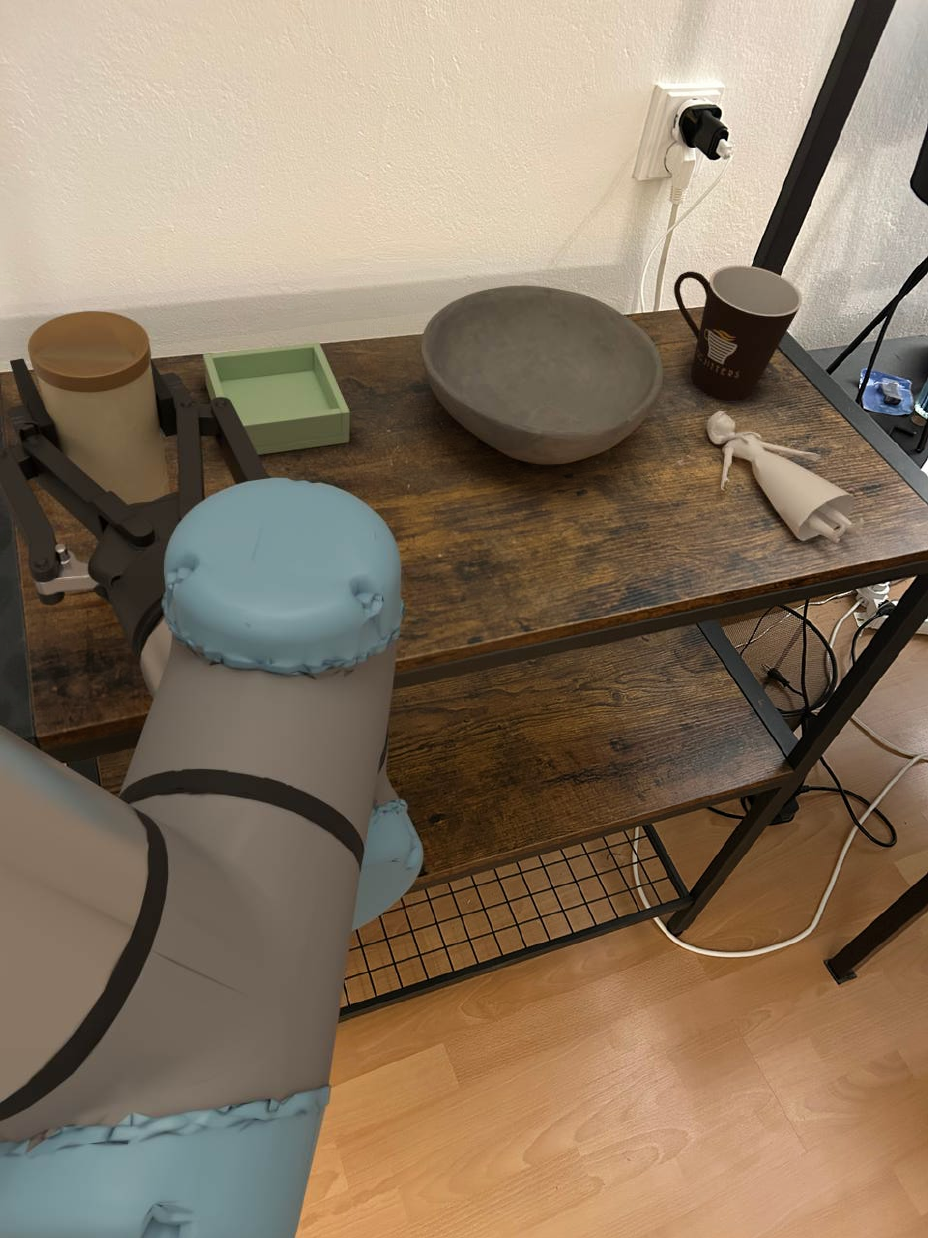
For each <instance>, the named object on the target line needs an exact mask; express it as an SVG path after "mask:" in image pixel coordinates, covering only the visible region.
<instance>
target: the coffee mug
mask: <svg viewBox="0 0 928 1238" xmlns="http://www.w3.org/2000/svg"><path fill="white" fill-rule="evenodd" d="M686 279H694V280H696V281H697V282H699V284H700V285H701V286H702V288H703V289H704V293H705V297H706V298H705V302H704V307H703V312H702V317H701V322H700V326H699V327H698V325H697V323H695V320H693V318H692V316H691V314H690V313H689V311H688V309H687V308H686V306H685V304H684V301H683V298H682V295H681V294H682V293H681V285H682V283H683V281H684V280H686ZM673 285H674V286H673V294H674V298H675V302H676V305H677V307H678V309H679V311H680V314H681V315H682V317H683V319H684V320H685V322H686V323H687V325H688V327H689V328H690V330H691V331H692V333H693V335H694V336H695V337H696V340H697V341H696V345H695V346H696V347H695V351H694V356H693V362H692V366H691V371H690V379H691V382H692V383H693V384H694V385H695V387H697V389H698V390H700V391H701V392H703V393H705V394H706V395H708V396H710V397H714V398H716V399H720V400H725V401H740V400H744V399H746V398H747V397H749V396H751V395H752V394H753V392H754V389H755V388H756V386H757V385H758V383H759V381H760V379H761V378H762V376H763V374H764V372H765V370H766V369H767V367H768V365H769V363H770V361H771V360H772V358H773V356H774V354H775V352H776V351H777V349H778V347H779V346H780V344H781V342H782V340H783V338H784V337H785V335H786V333H787V331H788V330H789V328H790V326H791V324H792V322H793V320H794V319H795V318H796V315H797V313H798V312H799V310H800V308H801V306H802V304H803V297H802V294H801V292H800V291H799V289H798V288H797V287H796V286H795V285H794V284H793V283H792V282H790V281H789V280H788V279H787V278H785V277H783V276H782V275H780V274H777V273H775V272H773V271H770V270H767V269H764V268H761V267H756V266H750V265H740V264H739V265H736V264H735V265H728V266H723V267H720V268H719V269H716V270H715V271H714V272H713V273H712V274H711V276H710V277H709V280H708V279H707V278H706V277H705V276H704V275H703V274H702V273H699V272H696V271H691V270H690V271H686V272H683V273H681V274H680V275H679V276H677V279H676V280H675V282H674V284H673Z"/></svg>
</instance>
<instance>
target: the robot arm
mask: <svg viewBox="0 0 928 1238" xmlns="http://www.w3.org/2000/svg"><path fill="white" fill-rule="evenodd" d="M150 362H151V369H152V375H153V382H154V388H155V395H156V401H157V408H158V414H159V421H160V427H161V432H162V434H164V437H165V438H169V437H173V436H176V443H177V448H176V449H177V491H175V492H172V493H171V492H170V494H167V495H164V496H162V497H160V498H158V499H156V500H154V501H151V502H140V503H133V504H129V505H127V504H126V503H125V502H124V501H123V500H122V499H121V498H119V497H118V496H117V495H116V494H115V493H114V492H112V491H108V492H106V491H105V490H104V489H103V488H102V487H100V486H99V485H98V484H97V483H96V482H95V481H94V480H93V479H91V478H90V477H89V476H88V475H87V474H86V473H85V472H84V471H82V470H81V469H80V468H79V467H78V466H77V465H76V464H74V463H73V462H72V461H71V460H70V459H69V458H68V457H67V456H65V455H64V454H63V453H62V452H61V451H60V450H59V446H58V442H57V438H56V434H55V430H54V427H53V423H52V421H51V419H50V417H49V414H48V413H47V411H46V409H45V405H44V401H43V398H42V396H41V394H40V392H39V390H38V388H37V386H36V383H35V381H34V379H33V376H32V375H31V372H30V370H29V368H28V366H27V363H26V361H25V359H24V357H23V358H18V359H12V360H9V363H10V367H11V370H12V374H13V378H14V382H15V384H16V385H15V386H16V389H17V391H18V396H19V400H20V401H21V404H20V405H15V406H10V407H8V411H7V417H8V420H9V423H10V426H11V429H12V433H13V435H14V438H15V441H16V445H15V446H14V447H12V448H10V449H9V448H8V447H3V446H2V447H1V446H0V496H1V499H2V500H3V502H4V504H5V506H6V508H7V510H8V512H9V514H10V516H11V518H12V520H13V522H14V524H15V526H16V528H17V530H18V532H19V534H20V535H21V538H22V540H23V542H24V544H25V546H26V548H27V550H28V565H27V566H28V569H29V573H30V575H31V578H32V582H33V585H34V587H35V590H36V594H37V597H38V599H39V601H40V603H42V605H46V606H55V605H57V604H59V603H62V601H63V600H64V598H65V596H66V595H65V594H66V592H74V591H75V592H77V591H86V590H93V592H94V593H95V594H96V595H97V596H99V597H100V598H101V599H103V600H105V601H106V602H108V603H109V604H110V605H111V607H112V608H113V612H114V613H115V615H116V618H117V620H118V623H119V624H120V627H121V629H122V632H123V634H124V636H125V639H126V641H127V643H128V646H129V649H130V650H131V653H132V655H133V657H134V660H135V661H136V663H137V664H138V665H139V667H140V671H141V675H142V678H143V680H144V683H145V685H146V687H147V689H148V692H149V694H150V697H151V699H152V703H151V705H150V708H149V711H148V714H147V717H146V719H145V722H144V724H143V727H142V730H141V733H140V735H139V740H138V741H137V745H136V747H135V750H134V753H133V755H132V758H131V761H130V764H129V766H128V769H127V772H126V775H125V778H124V780H123V782H122V786H121V789H120V791H119V794H118V796H116V795H114V794H113V793H111V792H110V791H108V790H106V789H104V788H103V787H101V786H99V785H98V784H97V783H95V782H94V781H92V780H90V779H88V778H87V777H85V776H84V775H82V774H81V773H78V772H77V771H76V770H74V769H72V768H71V767H69V766H67V765H66V764H64V763H62V762H61V761H59V760H58V759H56V758H55V757H54V756H53V757H52V755H50V754H48V753H46V752H44V751H43V750H41V749H40V748H38V747H36V746H35V745H33V744H32V743H30V742H29V741H27V740H25V739H23V738H22V737H20V736H19V735H17V734H16V733H14V732H12V731H10V730H9V729H7V728H6V727H4V726H2V725H1V724H0V1238H296V1235H297V1232H298V1229H299V1225H300V1219H301V1215H302V1210H303V1205H304V1201H305V1197H306V1194H307V1193H306V1192H307V1189H308V1185H309V1179H310V1175H311V1172H312V1167H313V1163H314V1158H315V1155H316V1149H317V1146H318V1141H319V1137H320V1133H321V1129H322V1124H323V1120H324V1115H325V1112H326V1108H327V1107H328V1105H330V1100H331V1090H332V1084H330V1078H331V1071H332V1067H333V1066H332V1064H333V1058H334V1052H335V1051H334V1050H335V1047H336V1046H335V1045H336V1039H337V1032H338V1026H339V1025H338V1024H339V1020H340V1019H339V1018H340V1012H341V1005H342V997H343V991H344V986H345V985H344V984H345V978H346V972H347V971H346V970H347V964H348V959H349V953H350V952H349V951H350V946H351V945H350V944H351V939H352V938H351V937H352V932H354V931H356V930H358V929H360V928H362V927H364V926H366V925H367V924H369V923H371V922H372V921H374V920H375V919H376V918H378V917H379V916H381V915H382V914H383V913H384V912H386V911H387V910H388V909H390V908H391V907H392V906H393V905H395V904H396V903H397V902H398V901H399V900H400V899H401V898H402V897H403V896H404V895H405V894H406V893H407V892H408V891H409V890H410V888H411V887H412V885H413V884H414V883H415V881H416V879H417V877H418V876H419V874H420V872H421V869H422V866H423V863H424V849H423V844H422V842H421V839H420V837H419V835H418V833H417V831H416V828H415V827H414V825H413V823H412V820H411V817H409V814H408V808H409V807H408V803H407V802H406V800H405V799H403V798H400V797H399V796H398V794H397V793H396V791H395V789H394V788H393V786H392V784H391V782H390V779H389V776H388V774H387V762H388V752H389V742H390V737H389V717H390V711H391V704H392V703H391V702H392V695H393V688H394V679H395V671H396V662H397V655H398V647H399V637H400V635H401V631H402V629H401V628H402V621H403V620H404V614H405V613H406V611H407V610H406V607H405V606H406V605H405V603H404V600H403V599H402V559H401V553H400V549H399V545H398V543H397V541H396V538H395V536H394V534H393V533H392V531H391V529H390V528H389V526H388V525H387V523H386V522H385V521H386V520H384V519H383V518H382V516H380V515H379V514H378V513H377V511H375V510H374V508H372V507H371V506H370V505H368V504H367V503H365V501H363V500H361V498H359V497H357V496H355V495H353V494H351V493H350V492H348V491H346V490H344V489H341V488H339V487H336V486H334V485H331V484H327V483H322V482H313V483H312V482H310V481H308V480H306V479H303V480H293V479H290V478H288V477H270V476H269V474H268V472H267V470H266V468H265V466H264V464H263V462H262V460H261V458H260V455H258V454H257V452H256V450H255V448H254V446H253V444H252V442H251V440H250V438H249V436H248V434H247V432H246V430H245V428H244V426H243V424H242V422H241V420H240V418H239V416H238V414H237V412H236V410H235V408H234V406H233V404H232V402H231V401H230V400H229V399H228V398H225V397H217V398H214V399H213V400H211V399H210V402H209V403H200V402H198V401H197V400H196V399H195V398H192V396H191V394H190V392H189V391H188V389H187V388H186V386H185V384H184V382H183V381H182V378H181V377H180V376H179V375H178V374H176V373H174V372H168V373H165V374H164V373H162V374H161V372H159V370H158V368H157V367H156V365H155V362H154V361H153V359H152V358H151V361H150ZM202 437H213V439H214V441H215V443H216V446H217V448H218V449H219V453H220V454H221V456H222V458H223V461H224V462H225V465H226V466H227V468H228V471H229V473H230V475H231V477H232V479H233V482H234V485H232V486H229V487H226V488H224V489H222V490H220V491H218V492H215V493H213V494H211V495H209V496H207V497H206V492H205V475H204V457H203V438H202ZM32 479H33V480H34V481H35V482H36V483H37V484H38V486H40V487H41V488H42V489H43V490H44V491H45V492H47V494H49V495H50V496H51V497H52V498H53V499H54V500H55V501H56V502H57V503H59V504H60V506H61V507H63V509H65V510H66V511H67V512H68V513H69V514H71V516H72V517H73V518H74V519H76V520H77V522H79V523H80V524H81V525H83V526H84V528H86V530H88V531H89V532H90V533H91V534H92V535H93V536H94V537H95V538H96V540H97V542H98V543H97V545H96V547H95V548H94V550H93V552H92V555H91V556H90V558H89V560H88V561H87V562H86V561H85V562H84V561H81V560H80V559H78V557H77V555H76V554H75V552H74V551H73V550H70V549H68V546H67V545H66V544H64V543H58V542H57V539H56V535H55V531H54V528H53V526H52V525H51V522H50V521H49V519H48V517H47V515H46V513H45V511H44V510H43V507H42V506H41V504H40V502H39V500H38V498H37V497H36V494H35V493H34V491H33V489H32V487H31V485H30V483H29V481H30V480H32Z"/></svg>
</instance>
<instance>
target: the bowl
mask: <svg viewBox="0 0 928 1238" xmlns="http://www.w3.org/2000/svg"><path fill="white" fill-rule="evenodd" d="M420 341H421V342H420V356H421V363H422V366H423V370H424V372H425V377H426V379H427V381H428V384H429V386H430V388H431V390H432V393H433V394H434V396H435V398H436V399H437V401H438V402H439V403H440V405H441V406H442V407H443V408H444V409H445V411H446V412H447V413H448V414H449V415H450V416H451V417H452V418H453V419H454V420H455V421H456V422H457V423H458V424H460V425H461V426H462V427H463V428H464V429H465V430H467V431H468V432H469V433H470V434H472V435H473V436H475V437H476V438H477V439H478V440H480V441H482V442H483V443H485V444H486V445H488V446H490V447H491V448H493V449H495V450H497V451H498V452H500V453H501V454H504V455H505V456H508V457H510V458H511V459H514V460H517V461H521V462H525V463H529V464H535V465H562V464H569V463H573V462H577V461H581V460H584V459H586V458H590V457H594V456H596V455H598V454H602V453H604V452H605V451H608V450H610V449H611V448H612V447H614V446H616V445H618V444H619V443H620V442H621V441H623V440H624V439H626V438H627V437H628V436H629V435H631V434H632V433H633V432H635V430H636V429H637V428H638V427H639V426H641V424H642V423H643V422H644V421H645V419H647V417H648V416H649V414H650V412H651V411H652V410H653V408H654V407H655V405H656V403H657V401H658V399H659V396H660V393H661V390H662V387H663V382H664V364H663V360H662V356H661V354H660V351H659V350H658V348H657V346H656V344H655V342H654V341H653V339H652V338H651V337H650V336H649V334H648V333H646V331H645V330H643V329H642V328H641V327H640V326H639V325H638V324H636V323H635V322H634V321H633V320H632V319H630V318H629V317H628V316H626V315H625V314H623V313H622V312H620V311H618V310H617V309H615V308H614V307H612V306H610V305H608V304H607V303H605V302H603V301H601V300H599V299H596V298H594V297H591V296H589V295H585V294H582V293H578V292H574V291H570V290H564V289H560V288H554V287H548V286H540V285H539V286H537V285H509V286H508V285H506V286H501V287H495V288H488V289H483V290H480V291H476V292H473V293H469V294H467V295H464V296H462V297H460V298H457V299H456V300H453V301H451V302H450V303H448V304H447V305H445V306H444V307H442V308H441V309H439V310H438V311H437V312H436V313H435V314H434V315H433V316H432V318H431V319H430V320H429V321H428V323H427V324H426V327H424V330H423V333H422V336H421V340H420Z"/></svg>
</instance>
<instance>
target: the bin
mask: <svg viewBox="0 0 928 1238" xmlns="http://www.w3.org/2000/svg"><path fill="white" fill-rule="evenodd" d="M202 359H203V368H204V369H203V370H204V378H205V386H206V391H207V393H208V396H209V399H210V401H211V400H213V399H214V398H217V397H225V398H228V399H229V400H230V401H231V402H232V404H233V406H234V408H235V410H236V412H237V414H238V416H239V418H240V420H241V422H242V424H243V426H244V428H245V430H246V432H247V434H248V436H249V438H250V440H251V442H252V444H253V446H254V448H255V450H256V452H257V454H258V456H260V455H268V454H273V453H274V454H275V453H282V452H289V451H296V450H304V449H311V448H316V447H325V446H332V445H339V444H344V443H349V442H350V422H351V421H350V418H351V412H350V408H349V407H348V404H347V402H346V401H345V398H344V395H343V393H342V391H341V389H340V386H339V384H338V382H337V380H336V377H335V375H334V373H333V370H332V368H331V366H330V363H329V360H327V359H328V358H327V357H326V354H325V352H324V350H323V349H322V346H321V343H320V342H319V341H316V342H306V343H297V344H296V343H295V344H288V345H287V344H285V345H278V346H277V345H276V346H269V347H259V348H258V347H257V348H249V349H242V350H241V349H240V350H231V351H221V352H213V353H211V352H210V353H203V354H202Z"/></svg>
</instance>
